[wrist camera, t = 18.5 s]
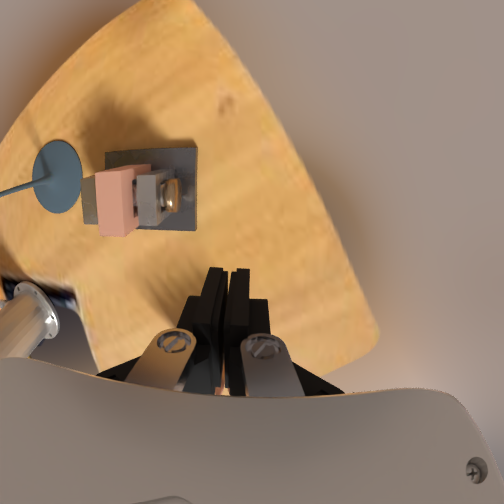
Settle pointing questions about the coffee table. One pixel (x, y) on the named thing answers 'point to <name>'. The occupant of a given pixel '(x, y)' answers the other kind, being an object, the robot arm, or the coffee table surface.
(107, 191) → the block
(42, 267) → the coffee table surface
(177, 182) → the shaft
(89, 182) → the bracket
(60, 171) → the cocktail glass
